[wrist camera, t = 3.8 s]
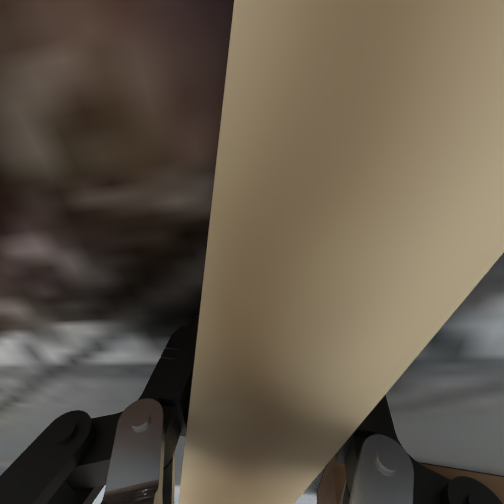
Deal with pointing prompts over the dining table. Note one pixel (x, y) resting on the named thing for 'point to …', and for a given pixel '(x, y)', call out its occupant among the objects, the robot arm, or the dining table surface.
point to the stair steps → (336, 473)
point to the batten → (337, 225)
